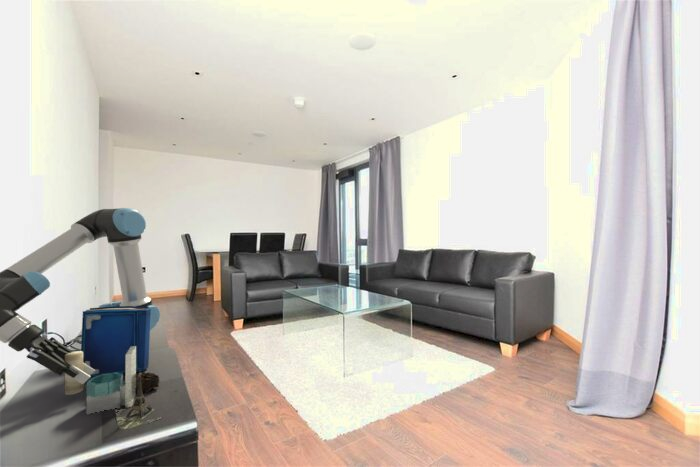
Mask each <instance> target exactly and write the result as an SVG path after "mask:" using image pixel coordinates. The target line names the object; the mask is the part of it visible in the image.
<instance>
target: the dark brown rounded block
mask: <svg viewBox="0 0 700 467" xmlns="http://www.w3.org/2000/svg"><path fill="white" fill-rule="evenodd" d="M139 373H141V383H142V392H143V393H145V392H146V393H149V392H150V391H151V390H152V389H154V388H159V387H160V386H159V385H160V376H159V375H157V374H156V373H153V372H146V371H145V372H143V371H141V372H139ZM138 380H139V376H138V374H136V393H137V390H138Z"/></svg>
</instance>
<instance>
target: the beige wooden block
mask: <svg viewBox="0 0 700 467" xmlns="http://www.w3.org/2000/svg"><path fill="white" fill-rule="evenodd" d="M65 362H67V363H68V364H69V365H70V366H71V365H74V366H76V367H77V368H79V369H80V370H82V371H83V351H81V350H80V351H73V352H71V353H68V354H66V355H65ZM83 390H84V384H81V383H79V382H78V381H76V380H75V379H73V378H71V377H70V376H68V375H66V374H65V373H64V395H66V396H67V395H68V396H70V395H76V394H78V393H81V392H82V391H83Z"/></svg>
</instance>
